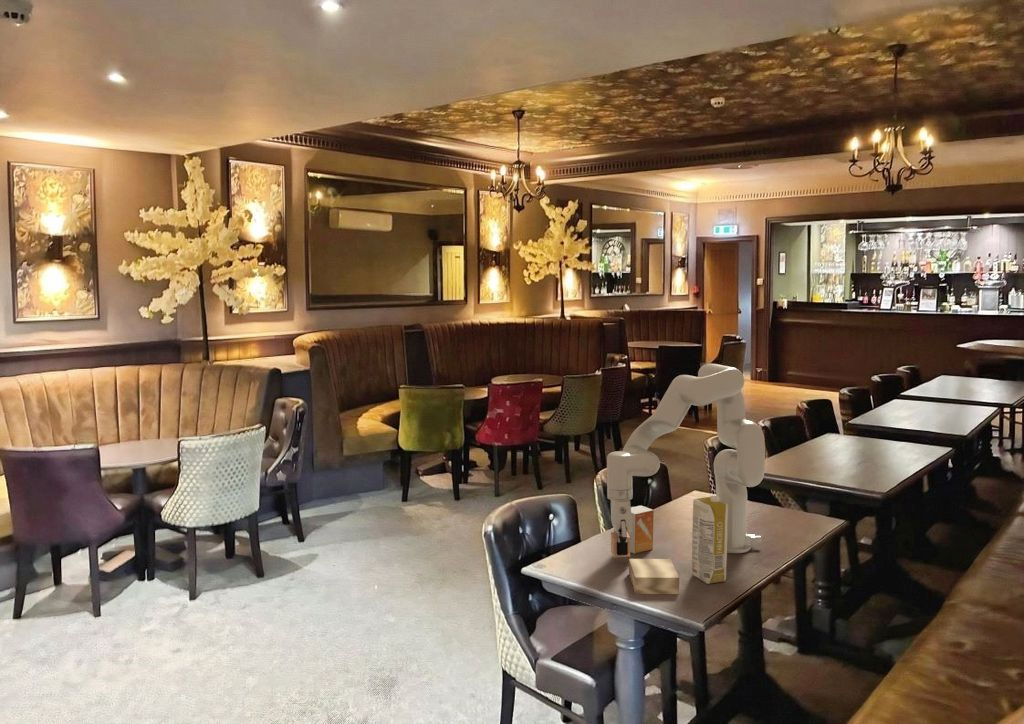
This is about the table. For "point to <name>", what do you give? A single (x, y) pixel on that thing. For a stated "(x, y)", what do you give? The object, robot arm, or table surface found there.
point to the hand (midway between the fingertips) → (620, 550)
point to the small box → (641, 529)
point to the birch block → (653, 576)
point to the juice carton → (709, 539)
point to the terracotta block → (614, 545)
